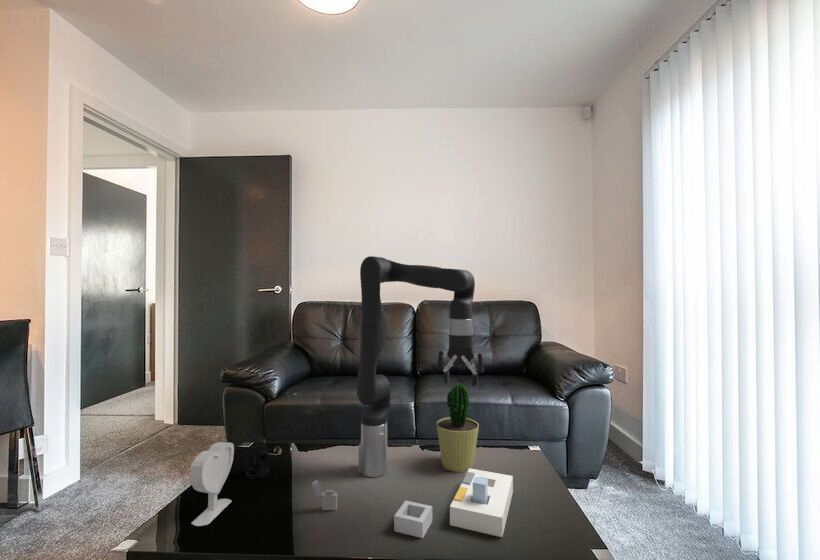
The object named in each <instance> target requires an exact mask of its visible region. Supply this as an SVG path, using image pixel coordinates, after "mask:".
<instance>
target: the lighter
mask: <svg viewBox="0 0 820 560" xmlns="http://www.w3.org/2000/svg"><path fill="white" fill-rule="evenodd" d="M311 486H312V488H313V490H314V491H315V495H316V497H317V498H319V497H321V511H322V510H336V511H337V509H338V492H335V491H334V489H327V490H326V491H325V492H324V491H323V489H322V486H321V484H320V482H319V479H316V480H314V481H313V482H312V483H311Z"/></svg>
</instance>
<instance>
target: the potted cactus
mask: <svg viewBox="0 0 820 560" xmlns="http://www.w3.org/2000/svg"><path fill="white" fill-rule="evenodd" d="M469 391H470V388H468V389H467V387H466V386H464V384H463V382H462V383H452V387H451V388H450V390H449V391H448V392H447V395H446V396H445V399H446V402H444V403H446V406H447V407H448V411H447V412H448V413H447V414H449V417H443V418H441V419H439V420H437V421H436V430H437V437H438V441H439V442H438V444H439V451H440V457H441V458H440V459H441V464H442V467H443V468H444V469H445V470H448V471H451V472H455V473H463V472H468V470H469V468H470V469H474V468H473V467H474V462H475V455H476V449H477V443H478V436H479V426H480V424H479V422H477V421H475V420H474V419H471V418H469V417H468V413H469V410H470V409H471V408H472V406H471V405H470V404H471V402H470V401H471V400H472V399H470V397H471V396H470V395H469ZM471 410H472V409H471Z"/></svg>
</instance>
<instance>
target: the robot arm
mask: <svg viewBox="0 0 820 560" xmlns="http://www.w3.org/2000/svg"><path fill="white" fill-rule="evenodd" d="M359 269H360V270H359V276H360V277H359V278H360V279H359V280H360V290H361V314H360V315H361V317H360V318H361V321H360V346H359V347H360V349H359V352H360V353H359V364H358V373H357V379H356V397H357V399H358V401H359V403H360V404H362V405H364V406H366V407H367V408H366V409H365V410H364V411H363V412H362V413H361V415H360V443H359V444H358V452H357V453H358V456H357V458H358V463H357V464H358V469H357V470H358V471H357V472H358V473H360V474H361V473H362V474H363V475H362V474H361V475H362V476H364V475H365V477H367V476H368V477H367V478H377V477H382V476H384V475H386V474H387V471H388V417H389V414H390V409H391V408H390V407H391V393H392V392H391V390H392V389H391V384H390V380H389V379H388V378H387V377H386V375H384V374H377V366H378V362H379V358H380V357H381V354H382V352H383V350H384V348H385V346H386V343H387V338H388V319H387V314H386V311H385V309H384V306H383V304H382V299H381V284H382V283H383V284H384V283H389V282H390V283H391V282H392V283H393V282H400V283H407V284H411V285H414V286H419V287H425V288H431V289H439V290H444V291H445V290H446V291H450V292H453V298H452V300H451V301H450V304H449V320H448V321H449V322H448V350H444V349H441V350H439V351H438V358H437V369H438V370H439V371H442V372H443V382H444V383H445V385H449V384H450V371H449V370H450V369H451V367H453V366H461V367H466V366H467V368H468V369H469V370H470V371H471V373H472V375H471V376H472V377H471V381H472V382H471V384H472V385H471V387H473V388H474V387H476V386H477V385H478V384H479V383H478V382H479V380H478V379H479V377H478V376H479V374H482V373H483V372H485V365H484V364H485V361H484V352H474V349H473V348H474V344H473V343H474V336H473V335H474V327H473V306H472V305H473V300H474V295H475V289H476V288H475V286H476V282H475V281H476V279H475V277H474V275H473V273H472V272H470V271H469V270H465V269H460V268H459V269H458V268H443V267H439V266H432V265H423V264H422V265H421V264H420V265H419V264H406V263H405V264H404V263H400V262H396V261H393V260H390V259H387V258H385V257H382V256H374V255H373V256H372V255H370V256H367V257H365V258H364V259H363V260H362V261H361V264H360V268H359ZM446 357H448V358H449V361H448V363H447V364H446V365H445V363H444V362H445V358H446ZM474 358H475V360H477V363H478V364H477V365H478V368H477V367H476V365H475V363H474V362H473V361H472V360H473V359H474Z"/></svg>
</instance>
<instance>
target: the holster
mask: <svg viewBox="0 0 820 560" xmlns="http://www.w3.org/2000/svg"><path fill="white" fill-rule="evenodd" d="M393 517H394V518H393V522H394V524H393V527H394V528H393V531H394V532H397V533H399V534H403V535H409V536H412V537H415V538H420V539H424V537H425V535H426V534H427V532H428V530H429V529H430V528H429V527H430V525H432V522H433V506H432V505H429V504H423V503H418V502H414V501H410V500H404V501H403V503H402V504H401V506H400V508H398V510H397V511H396V513H395V514H394V516H393Z"/></svg>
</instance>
